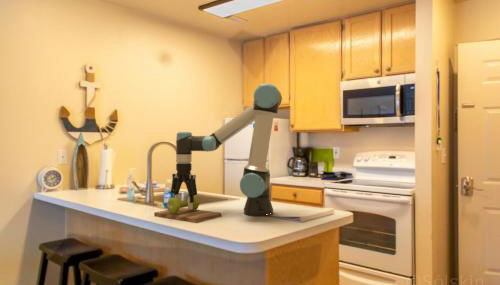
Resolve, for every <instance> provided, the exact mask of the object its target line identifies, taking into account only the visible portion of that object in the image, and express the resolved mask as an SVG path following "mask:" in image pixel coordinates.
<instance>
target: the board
mask: <svg viewBox="0 0 500 285" xmlns="http://www.w3.org/2000/svg"><path fill="white" fill-rule="evenodd" d="M153 215H154V217H156V218H157V217H158V218H162V219H163V218H165V219H171V220H176V221H182V222H187V223H195V224H197V223H198V224H199V223H201V222H206V221H209V220H212V219H217V218H220V217H222V212H219V211H210V210H203V209H198V208H197V209H196V210H188V207H181V208H180V209H179V211H178V212H177V213H170V212H169V211H168V209H165V210H160V211H155V212H154V214H153Z"/></svg>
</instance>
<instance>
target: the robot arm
mask: <svg viewBox="0 0 500 285" xmlns="http://www.w3.org/2000/svg"><path fill="white" fill-rule="evenodd" d="M282 100H283V98H282V94H281V91H280V90H279V89H278V87H277V86H275V85H274V84H272V83H262V84H260V85H258V86H257V87H256V88H255V90H254V92H253V101H252V104H250V105H249V106H248V107H247V108H245V109H244V110H243V111H241V112H239V113H238V115H236V116H234V117H233V118H232V119H230V120H228V122H226V123H225V124H224V125H222V126H221V127H220V128H217V129H216V130H215V131H214V132H212V133H211V134H210V135H193V134H192V132H191V131H178V132H177V133H176V139H175V143H176V145H175V146H176V148H175V149H176V153H175V154H176V156H175V162H176V164H175V167H176V168H175V170H176V172H177V173H172V175H171V177H172V180H171V188H170V193H171V194H173V198H177V199H178V200H179V202H180V201H181V199H180V197H181V195H180V191H181V187H182V184H183V183H184V185H185V186H186V190H187V192H188V196H187V199H188V206H187V208H188V210H191V209H193V202H194V195H195V196H198V189H197V183H196V177H197V175H196V174H192V173H191V171H192V153H193V152H214V151H216V150H218V149H219V148H220V146H221V145H223V144H224V143H225V142H227V141H228V140H230V139H231V138H232V137H234V136H235V135H237V134H238V133H240V132H242V130H244V129H245V128H247V127H248V126H250V125H251V124H253V123H254V124H253V130H252V137H251V143H250V147H249V148H250V149H249V156H248V163H247V165H245V166H244V167H243V174H242V177H241V178H240V182H239V188H240V191H241V192H242V194H243V195H245V197H247V199H246V201H245V205H244V207H243V213H244V215H247V216H254V217H262V216H263V217H264V216H265V215H266V214H270V213H272V212H273V213H274V207H273V205H272V201H271V196H270V194H271V192H270V191H271V190H270V189H271V173H270V172H271V171H270V170H269V169H268V168H267V160H268V154H269V148H270V141H271V135H272V130H273V129H272V128H273V124H274V123H273V122H274V117H276V116H277V115H278V111H279V107H280V106H281V104H282ZM266 216H267V215H266Z"/></svg>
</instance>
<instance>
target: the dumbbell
mask: <svg viewBox="0 0 500 285" xmlns="http://www.w3.org/2000/svg"><path fill="white" fill-rule="evenodd" d="M200 204H201V203H200V200H199V197H198V195H194V202H193V209H191V210H196V209H197V210H198V209H199V206H200ZM181 207H182V208H188V198H186V200H180V202H179V200H178V199H177V198H174V197H169V199H168V200H167V202H166V208H167V210H168V211H169V212H170V213H177V212H178V211H179V209H180V208H181Z"/></svg>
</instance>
